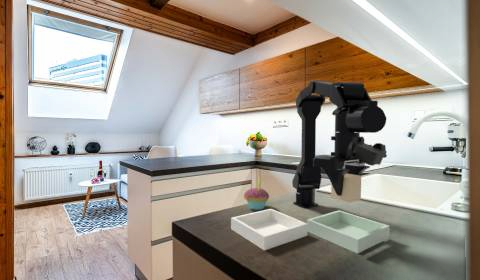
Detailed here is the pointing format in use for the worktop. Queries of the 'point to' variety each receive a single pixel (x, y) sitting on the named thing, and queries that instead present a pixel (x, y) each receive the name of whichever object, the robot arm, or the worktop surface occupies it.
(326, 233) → the bin
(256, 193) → the cupcake
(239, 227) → the bin
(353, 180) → the beige plain cubic block
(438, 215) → the worktop surface
